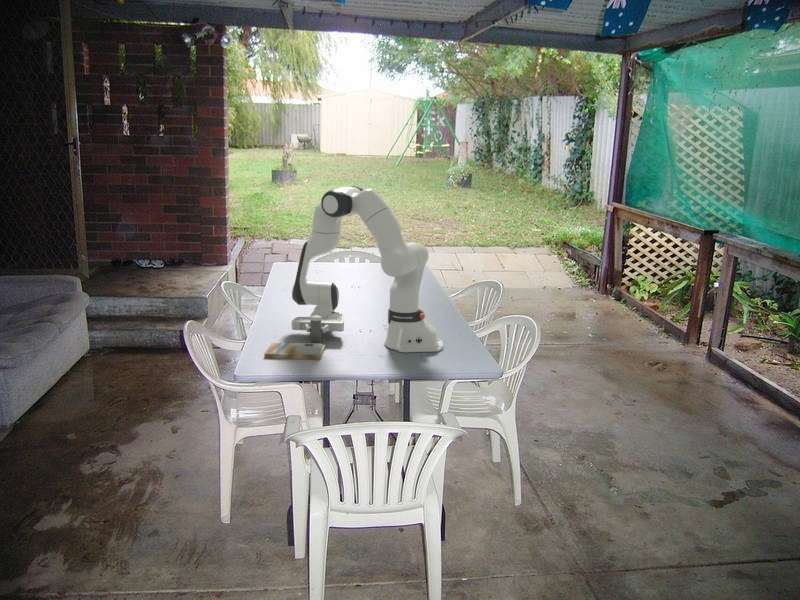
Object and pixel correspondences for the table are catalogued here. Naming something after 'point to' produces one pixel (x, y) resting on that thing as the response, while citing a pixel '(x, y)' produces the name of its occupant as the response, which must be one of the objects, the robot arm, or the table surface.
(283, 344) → the board
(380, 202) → the robot arm
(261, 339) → the table surface
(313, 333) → the peg
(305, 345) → the block
